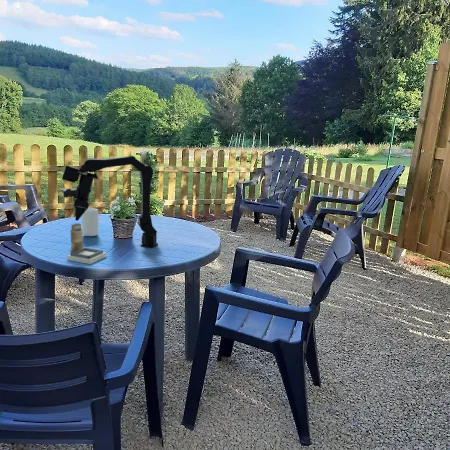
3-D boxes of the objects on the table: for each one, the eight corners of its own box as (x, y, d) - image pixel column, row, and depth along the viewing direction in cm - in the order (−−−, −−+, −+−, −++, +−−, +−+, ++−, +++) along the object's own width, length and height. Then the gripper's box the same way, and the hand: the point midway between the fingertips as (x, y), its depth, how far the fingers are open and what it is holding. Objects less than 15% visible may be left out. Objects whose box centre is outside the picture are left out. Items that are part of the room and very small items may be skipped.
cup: (89, 239, 215) (88, 212, 212) (78, 236, 220) (77, 209, 216) (102, 236, 222) (101, 209, 219) (92, 233, 227) (91, 207, 223)
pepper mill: (85, 249, 198) (84, 224, 195) (78, 252, 193) (77, 226, 190) (76, 248, 200) (75, 222, 197) (68, 251, 195) (67, 225, 192)
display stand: (106, 256, 190) (105, 250, 189) (90, 264, 180) (90, 257, 179) (83, 253, 194) (83, 246, 193) (67, 259, 184) (67, 253, 183)
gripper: (66, 178, 197) (58, 209, 200) (66, 184, 181) (57, 218, 183) (90, 184, 202) (82, 215, 204) (93, 190, 185) (83, 224, 187)
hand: (76, 218), depth 194 cm, fingers open, 9 cm apart
